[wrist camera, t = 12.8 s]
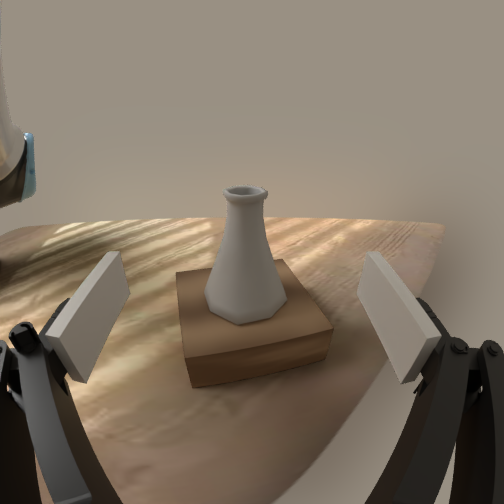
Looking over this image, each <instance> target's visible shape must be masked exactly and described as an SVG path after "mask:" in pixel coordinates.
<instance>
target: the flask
mask: <svg viewBox="0 0 504 504" xmlns="http://www.w3.org/2000/svg"><path fill="white" fill-rule="evenodd" d="M223 195H224V197H225V198H226V199H227V218H226V224H225V230H224V236H223V239H222V242H221V245H220V248H219V251H218V254H217V257H216V260H215V263H214V265H213V268H212V271H211V273H210V276H209V279H208V281H207V284H206V287H205V290H204V294H205V297H206V300H207V303H208V306H209V309H210V311H211V312H213V313H215V314H217V315H219V316H221V317H223V318H225V319H227V320H229V321H231V322H233V323H235V324H237V325H238V324H243V323H248V322H253V321H257V320H262V319H266V318H271V317H272V316H273V315H274V314H275V313H276V312H277V310H278V309H279V308H280V307H281V306H282V305H283V304H284V303H285V302H286V301H287V297H286V294H285V291H284V288H283V285H282V283H281V280H280V277H279V274H278V272H277V269H276V266H275V263H274V260H273V257H272V254H271V251H270V248H269V244H268V241H267V238H266V232H265V226H264V219H263V203H264V199H266V198H267V196H268V191H266V190H265V189H263V188H262V187H257V186H251V185H241V186H232V187H229V188H226V189H223Z"/></svg>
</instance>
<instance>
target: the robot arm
mask: <svg viewBox="0 0 504 504" xmlns="http://www.w3.org/2000/svg"><path fill="white" fill-rule="evenodd" d="M1 2H2V0H0V27H1ZM0 32H1V28H0ZM35 191H36V178H35V163H34V138H33V134H31V133H29V134H27V133H25V134H23V132H22V130H21V128H20V127H19V126H17V125H16V124H14V123H12V122H11V117H10V113H9V108H8V102H7V97H6V91H5V84H4V76H3V67H2V56H1V33H0V208H3V207H5V206H8V205H11V204H13V203H16V202H22V201H23V200H24V199H26V198H29V197H31V196H32V195H34V193H35ZM129 295H130V291H129V287H128V283H127V279H126V276H125V271H124V267H123V263H122V259H121V254H120V251H108V252H107V253H106V254H105V256H104V257H103V258H102V259H101V260H100V262H99V263H98V264H97V265H96V266H95V268H94V269H93V270H92V271H91V273H90V274H89V275H88V276H87V278H86V279H85V280H84V281H83V283H82V284H81V285H80V287H79V288H78V289H77V291H76V292H75V293H74V295H73V296H72V297H71V298H67V299H66V300H65V301H64V302H62V303H61V304H60V305H59V306H58V308H57V309H56V310H55V313H53V315H52V316H51V318H50V319H49V320H48V322H47V323H46V325H45V326H44V327H43V329H42V330H41V332H40V333H39V335H38V334H37V332H36V331H35V329H34V327H33V325H32V324H31V323H30V322H22V323H19V324H17V325H16V326H15V327H14V328H12V330H11V331H10V333H9V339H10V341H11V342H12V344H13V346H14V347H15V348H11V349H9V347H8V345H7V344H6V342H5V341H3V340H0V504H42V502H41V497H40V491H39V486H38V479H37V472H36V463H35V453H36V457H37V460H38V463H39V466H40V469H41V472H42V475H43V477H44V480H45V483H46V485H47V488H48V490H49V493H50V495H51V497H52V500H53V502H54V504H123V503H122V501H121V500H120V498H119V497H118V495H117V493H116V492H115V490H114V488H113V487H112V485H111V483H110V481H109V480H108V478H107V476H106V474H105V472H104V470H103V469H102V467H101V465H100V463H99V461H98V459H97V457H96V455H95V453H94V451H93V448H92V446H91V444H90V442H89V440H88V437H87V435H86V433H85V430H84V428H83V425H82V423H81V420H80V418H79V415H78V413H77V410H76V407H75V404H74V402H73V399H72V396H71V393H70V390H69V386H68V383H67V381H66V380H65V378H64V377H65V375H66V373H67V372H68V374H69V375H70V377H71V378H72V380H74V381H78V382H82V383H87V381H88V379H89V376H90V374H91V372H92V370H93V367H94V365H95V363H96V361H97V359H98V356H99V354H100V352H101V350H102V348H103V346H104V344H105V342H106V340H107V337H108V335H109V333H110V331H111V329H112V327H113V325H114V323H115V321H116V319H117V318H118V316H119V314H120V312H121V310H122V308H123V306H124V304H125V302H126V300H127V299H128V297H129ZM357 296H358V297H359V299H360V301H361V303H362V305H363V307H364V309H365V311H366V313H367V315H368V317H369V319H370V321H371V323H372V325H373V327H374V329H375V331H376V333H377V335H378V337H379V339H380V341H381V343H382V345H383V347H384V349H385V351H386V353H387V356H388V358H389V360H390V362H391V364H392V366H393V368H394V371H395V373H396V375H397V377H398V380H399V382H400V384H404V383H407V382H411V381H415V379H416V378H417V376H418V375H419V373H420V372H421V374H422V376H423V379H422V381H421V382H420V384H419V385H418V387H417V388H416V389H415V391H414V392H413V393H414V394H415V393H416V392H417V395H416V397H415V400H414V403H413V406H412V408H411V411H410V414H409V416H408V419H407V421H406V424H405V426H404V429H403V431H402V434H401V436H400V438H399V440H398V443H397V445H396V447H395V449H394V451H393V453H392V455H391V457H390V460H389V461H388V463H387V465H386V467H385V469H384V471H383V473H382V475H381V477H380V478H379V480H378V482H377V484H376V486H375V487H374V489H373V491H372V492H371V494H370V496H369V497H368V499H367V500H366V502H365V504H434V502H435V500H436V497H437V495H438V493H439V490H440V488H441V485H442V482H443V480H444V477H445V474H446V471H447V468H448V465H449V462H450V459H451V456H452V453H453V449H454V446H455V442H456V451H455V463H454V474H453V482H452V488H451V495H450V500H449V504H504V353H503V350H502V348H501V347H500V346H499V345H498V343H496V342H495V341H492V340H486V341H484V343H483V344H482V346H481V347H480V349H478V348H469V346H468V345H467V343H466V342H464V341H463V340H461V339H460V338H456V337H451V336H450V335H449V333H448V332H447V330H446V329H445V327H444V326H443V325H442V323H441V322H440V320H439V319H438V318H437V316H436V315H435V314H434V313H433V311H432V309H431V308H430V307H429V305H428V304H427V303H426V302H424V301H423V300H422V299H420V298H415V297H414V296H413V294H412V293H411V292H410V290H409V289H408V288H407V286H406V285H405V284H404V282H403V281H402V280H401V279H400V277H399V276H398V275H397V273H396V272H395V271H394V270H393V268H392V267H391V266H390V265H389V263H388V262H387V261H386V260H385V259H384V257H383V256H382V255H381V254H380V253H379V252H366V256H365V261H364V265H363V269H362V274H361V278H360V282H359V286H358V290H357ZM7 385H8V386H9V392H8V391H7ZM481 386H482V388H483V389H482V392H481ZM34 450H35V453H34Z"/></svg>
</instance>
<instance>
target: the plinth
mask: <svg viewBox="0 0 504 504" xmlns="http://www.w3.org/2000/svg"><path fill="white" fill-rule="evenodd" d="M274 263H275V266H276V269H277V272H278V274H279V277H280V280H281V283H282V285H283V288H284V291H285V294H286V297H287V301H286V302H285V303H284V304H283V305H282V306H281V307H280V308H279V309H278V310H277V312H276V313H275V314H274V315H273V316H272V317H271V318H266V319H262V320H257V321H253V322H248V323H243V324H238V325H237V324H235V323H233V322H231V321H229V320H227V319H225V318H223V317H221V316H219V315H217V314H215V313H213V312H211V311H210V309H209V306H208V303H207V300H206V297H205V294H204V290H205V287H206V284H207V281H208V279H209V276H210V273H211V271H212V268H208V269H200V270H192V271H184V272H176V283H177V295H178V306H179V316H180V325H181V334H182V342H183V350H184V357H185V362H186V366H187V370H188V373H189V377H190V381H191V385H192V388H196V387H203V386H210V385H216V384H222V383H227V382H233V381H238V380H243V379H248V378H253V377H258V376H262V375H267V374H271V373H275V372H279V371H284V370H288V369H291V368H295V367H299V366H303V365H306V364H310V363H313V362H317V361H320V360H324V359H325V358H326V354H327V351H328V347H329V344H330V341H331V337H332V333H333V330H334V327H333V326H332V325H331V323H330V322H329V321H328V319H327V318H326V317H325V315H324V314H323V312H322V311H321V310H320V308H319V307H318V306H317V304H316V303H315V302H314V300H313V299H312V298H311V296H310V295H309V294H308V292H307V291H306V290H305V288H304V287H303V286H302V284H301V283H300V282H299V280H298V279H297V278H296V276H295V275H294V274H293V272H292V271H291V270H290V268H289V267H288V266H287V264H286V263H285V262H284V260H283V259H277V260H274Z"/></svg>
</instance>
